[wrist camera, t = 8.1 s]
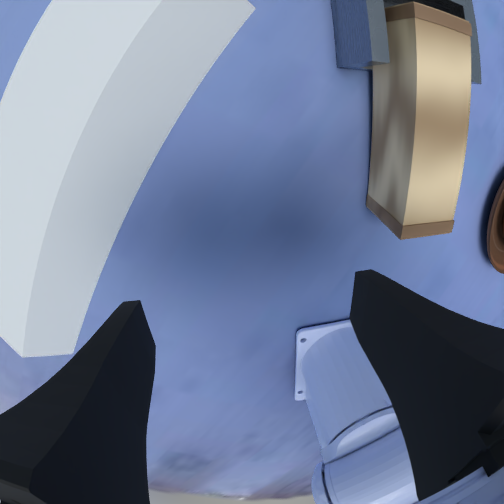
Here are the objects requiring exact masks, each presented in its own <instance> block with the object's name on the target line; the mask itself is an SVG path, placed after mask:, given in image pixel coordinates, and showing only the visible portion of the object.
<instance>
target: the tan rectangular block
mask: <svg viewBox="0 0 504 504" xmlns="http://www.w3.org/2000/svg"><path fill="white" fill-rule="evenodd" d="M384 10H385V18H386V26H387V35H388V46H389V58H390V63H388V64H381V65H374V66H373V118H372V143H371V160H370V174H369V186H368V194H367V200H366V207H367V208H368V209H369V210H371V211H372V212H373V213H374V214H375V215H376V216H377V217H378V218H379V219H380V220H381V221H382V222H383V223H384V224H385V225H386V226H387V227H388V228H389V229H390V230H391V231H392V232H393V233H394V234H395V235H396V236H397V237H398V238H399V239H400V240H402V239H410V238H417V237H424V236H432V235H439V234H446V233H450V232H452V229H453V225H454V220H453V218H454V213H455V209H456V204H457V199H458V194H459V189H460V184H461V178H462V172H463V166H464V159H465V152H466V144H467V136H468V126H469V114H470V97H471V40H470V36H472V28H471V23H469V21H466V20H464V19H461V18H459V17H457V16H454V15H451V14H449V13H446V12H444V11H441V10H438V9H435V8H432V7H429V6H426V5H423V4H420V3H417V2H414V1H413V2H408V3H403V4H399V5H395V6H391V7H386V8H384Z"/></svg>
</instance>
